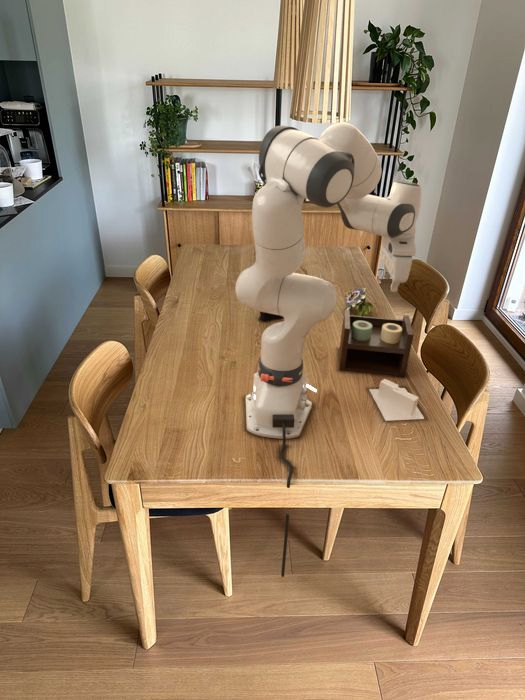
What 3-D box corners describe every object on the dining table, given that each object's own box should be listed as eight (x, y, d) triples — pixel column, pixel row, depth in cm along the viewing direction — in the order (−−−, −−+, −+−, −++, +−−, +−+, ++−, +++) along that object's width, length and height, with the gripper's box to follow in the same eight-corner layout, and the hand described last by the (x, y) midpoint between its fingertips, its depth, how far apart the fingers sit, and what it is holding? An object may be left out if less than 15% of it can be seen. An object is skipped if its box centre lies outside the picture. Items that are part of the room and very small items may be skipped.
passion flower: (346, 322, 197) (340, 293, 198) (373, 317, 197) (367, 288, 198) (351, 319, 186) (345, 288, 187) (380, 313, 186) (373, 282, 187)
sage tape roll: (371, 341, 153) (373, 330, 151) (351, 339, 153) (353, 328, 151) (370, 332, 158) (372, 321, 156) (351, 330, 159) (352, 319, 156)
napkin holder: (425, 418, 137) (429, 401, 134) (385, 421, 135) (389, 404, 132) (404, 387, 150) (408, 371, 147) (368, 389, 148) (371, 373, 145)
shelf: (404, 377, 155) (413, 334, 147) (339, 370, 157) (344, 328, 149) (400, 355, 166) (408, 314, 159) (339, 349, 168) (344, 309, 161)
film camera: (285, 306, 196) (287, 284, 192) (297, 316, 189) (299, 294, 184) (250, 312, 190) (251, 290, 186) (261, 323, 183) (262, 300, 178)
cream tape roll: (400, 344, 152) (403, 332, 150) (381, 342, 152) (383, 330, 150) (399, 335, 157) (401, 323, 155) (379, 333, 158) (381, 322, 156)
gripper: (379, 227, 151) (373, 270, 158) (394, 251, 133) (386, 298, 141) (400, 228, 151) (393, 271, 158) (417, 252, 133) (408, 299, 141)
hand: (390, 284), depth 149 cm, fingers open, 8 cm apart
